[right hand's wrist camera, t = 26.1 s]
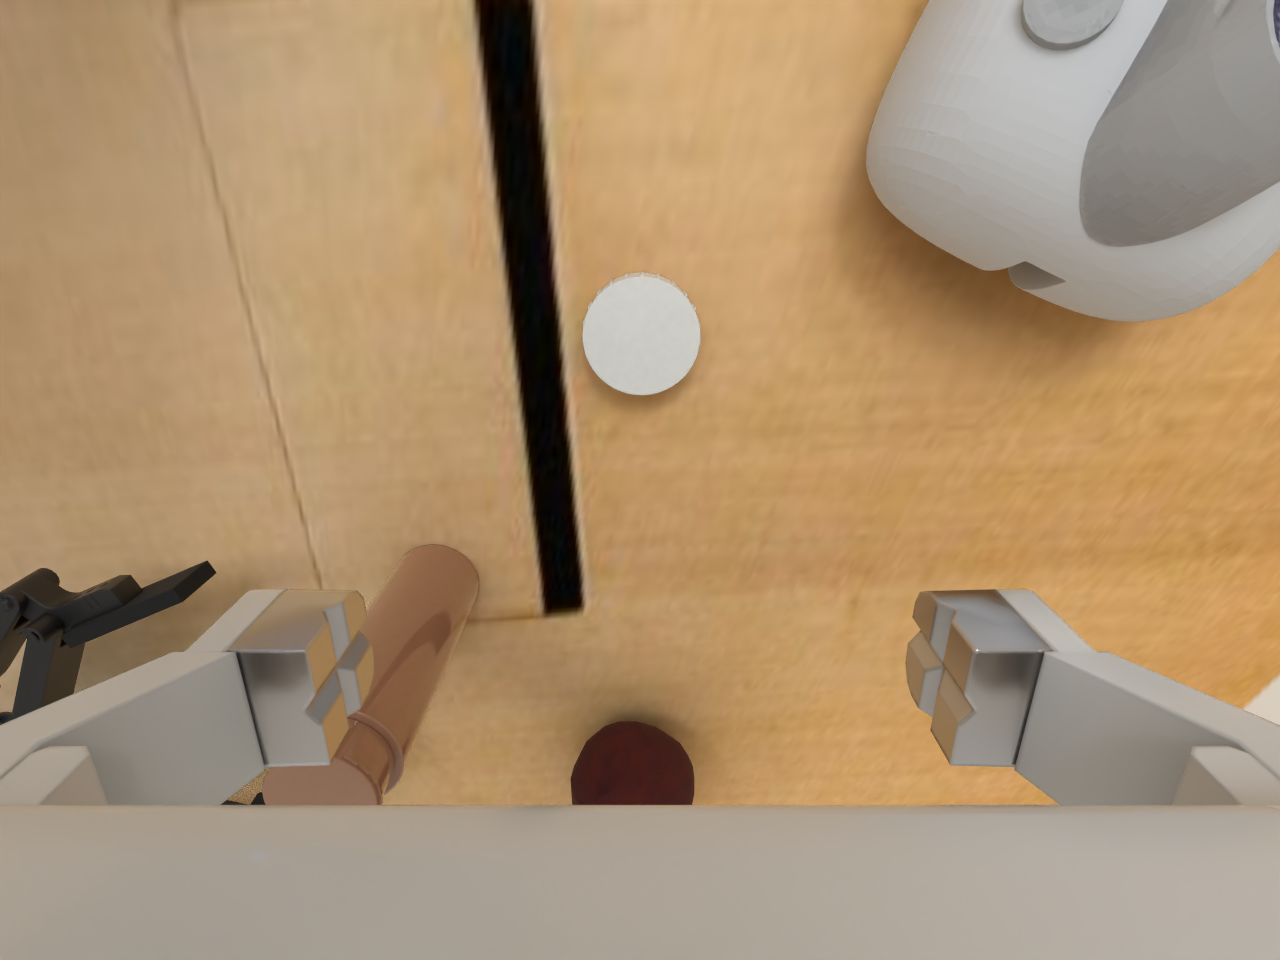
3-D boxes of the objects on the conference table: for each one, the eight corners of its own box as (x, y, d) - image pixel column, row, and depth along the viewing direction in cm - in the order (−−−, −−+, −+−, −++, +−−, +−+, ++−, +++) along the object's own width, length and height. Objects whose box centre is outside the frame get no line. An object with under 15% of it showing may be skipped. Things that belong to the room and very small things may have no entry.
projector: (1382, 180, 32) (1926, 159, 19) (908, 381, 36) (1074, 488, 22) (1346, -428, 25) (2201, -1197, 11) (753, -99, 28) (859, -384, 15)
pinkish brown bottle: (449, 631, 42) (343, 866, 27) (379, 587, 40) (228, 806, 26) (495, 575, 40) (411, 791, 25) (424, 528, 39) (292, 724, 24)
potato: (618, 806, 46) (614, 904, 40) (552, 728, 44) (536, 819, 37) (713, 760, 45) (725, 855, 38) (650, 677, 43) (652, 763, 36)
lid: (704, 275, 34) (709, 280, 32) (691, 390, 36) (695, 401, 34) (587, 265, 34) (584, 269, 32) (581, 381, 36) (577, 392, 34)
